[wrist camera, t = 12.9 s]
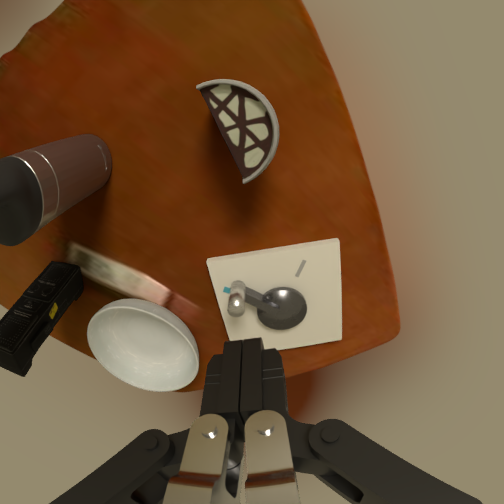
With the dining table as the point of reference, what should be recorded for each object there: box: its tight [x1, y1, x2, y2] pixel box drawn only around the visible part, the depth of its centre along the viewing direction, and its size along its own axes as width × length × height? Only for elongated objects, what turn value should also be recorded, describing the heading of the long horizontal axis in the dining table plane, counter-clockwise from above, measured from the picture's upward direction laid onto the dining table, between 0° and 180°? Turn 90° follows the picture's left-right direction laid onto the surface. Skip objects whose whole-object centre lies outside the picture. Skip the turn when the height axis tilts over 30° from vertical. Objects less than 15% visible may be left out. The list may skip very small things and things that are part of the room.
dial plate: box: [207, 238, 342, 350], centre depth 49 cm, size 20×20×1 cm
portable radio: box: [0, 261, 83, 377], centre depth 37 cm, size 8×6×25 cm
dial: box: [227, 280, 307, 330], centre depth 45 cm, size 13×8×6 cm, turn 60°
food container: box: [196, 79, 279, 184], centre depth 33 cm, size 12×6×10 cm, turn 24°
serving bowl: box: [87, 299, 199, 392], centre depth 50 cm, size 21×21×7 cm
